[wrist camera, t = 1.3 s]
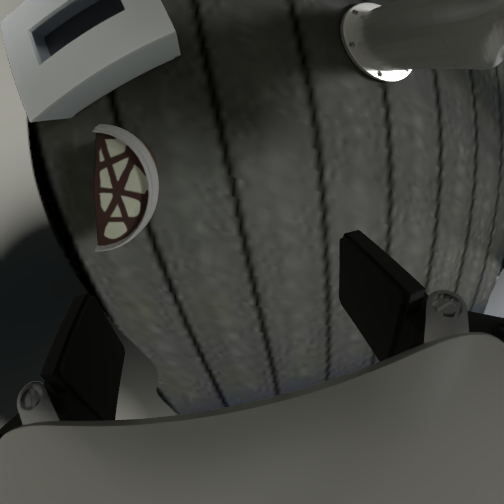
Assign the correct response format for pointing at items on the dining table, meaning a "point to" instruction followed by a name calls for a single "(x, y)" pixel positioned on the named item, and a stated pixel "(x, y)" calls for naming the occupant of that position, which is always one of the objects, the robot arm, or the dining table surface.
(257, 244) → the dining table surface
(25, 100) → the box
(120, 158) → the food container
